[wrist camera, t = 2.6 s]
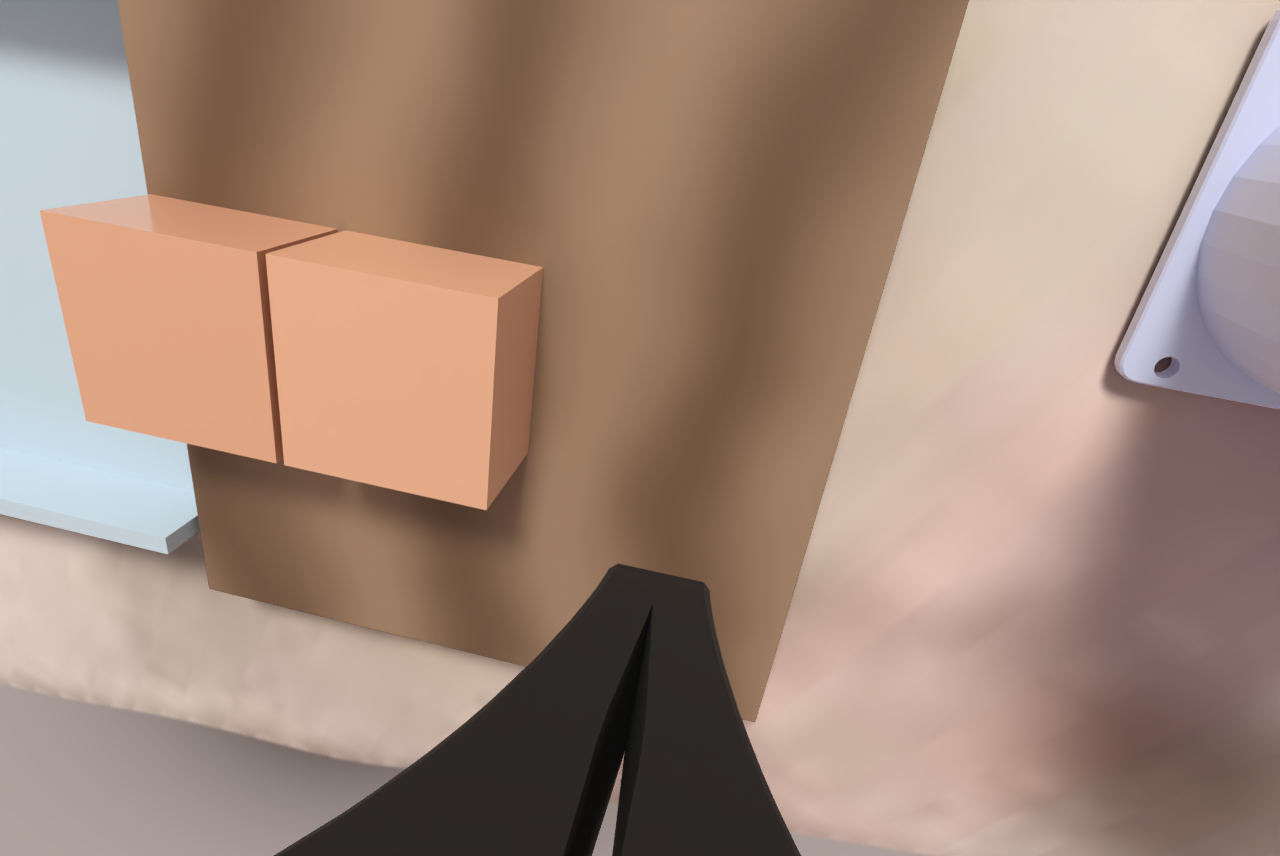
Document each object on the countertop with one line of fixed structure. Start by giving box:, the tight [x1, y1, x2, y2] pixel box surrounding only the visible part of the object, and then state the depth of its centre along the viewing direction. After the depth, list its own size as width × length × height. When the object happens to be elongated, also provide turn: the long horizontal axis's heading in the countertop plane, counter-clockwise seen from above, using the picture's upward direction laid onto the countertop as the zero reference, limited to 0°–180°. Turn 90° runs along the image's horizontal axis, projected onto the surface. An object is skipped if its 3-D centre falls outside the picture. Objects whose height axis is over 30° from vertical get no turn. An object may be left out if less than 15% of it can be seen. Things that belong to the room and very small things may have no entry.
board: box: [118, 0, 969, 722], centre depth 19 cm, size 18×20×2 cm
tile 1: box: [40, 194, 338, 463], centre depth 17 cm, size 5×5×3 cm
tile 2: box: [266, 230, 543, 510], centre depth 17 cm, size 5×5×3 cm
